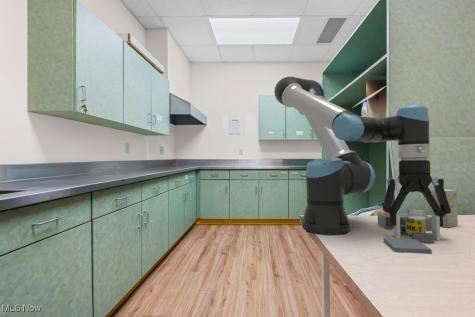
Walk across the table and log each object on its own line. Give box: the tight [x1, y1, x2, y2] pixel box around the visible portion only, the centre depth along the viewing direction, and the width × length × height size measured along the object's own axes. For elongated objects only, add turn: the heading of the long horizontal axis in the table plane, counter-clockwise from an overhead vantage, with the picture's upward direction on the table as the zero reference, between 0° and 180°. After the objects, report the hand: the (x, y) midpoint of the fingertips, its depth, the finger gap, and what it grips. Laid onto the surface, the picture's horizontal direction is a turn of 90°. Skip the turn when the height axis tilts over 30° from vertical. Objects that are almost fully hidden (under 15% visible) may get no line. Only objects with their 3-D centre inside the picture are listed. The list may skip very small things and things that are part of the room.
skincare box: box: [431, 188, 459, 228], centre depth 87 cm, size 6×4×12 cm
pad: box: [383, 237, 433, 255], centre depth 66 cm, size 8×8×1 cm
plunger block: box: [377, 211, 432, 232], centre depth 86 cm, size 14×8×4 cm, turn 78°
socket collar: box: [400, 225, 435, 245], centre depth 74 cm, size 9×5×2 cm, turn 168°
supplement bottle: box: [405, 207, 427, 239], centre depth 74 cm, size 5×5×8 cm
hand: (416, 237), depth 74 cm, fingers open, 9 cm apart
